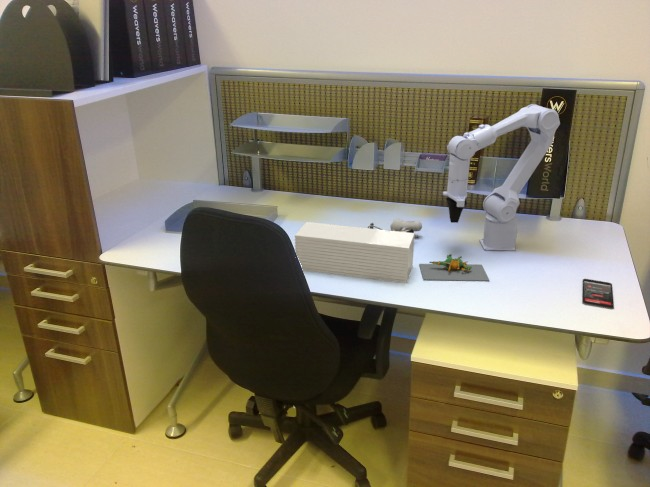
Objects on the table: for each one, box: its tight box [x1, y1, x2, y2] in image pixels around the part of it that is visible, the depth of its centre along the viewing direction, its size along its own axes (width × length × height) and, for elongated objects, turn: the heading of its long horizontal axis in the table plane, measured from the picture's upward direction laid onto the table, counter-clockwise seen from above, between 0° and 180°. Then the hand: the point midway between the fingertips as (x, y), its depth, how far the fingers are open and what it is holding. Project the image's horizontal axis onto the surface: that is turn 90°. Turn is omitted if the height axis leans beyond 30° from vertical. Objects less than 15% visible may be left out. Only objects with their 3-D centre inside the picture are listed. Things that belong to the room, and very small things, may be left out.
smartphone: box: [581, 278, 615, 310], centre depth 150 cm, size 7×1×15 cm
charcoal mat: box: [419, 263, 491, 282], centre depth 162 cm, size 18×10×1 cm, turn 88°
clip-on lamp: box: [367, 218, 423, 238], centre depth 185 cm, size 12×6×18 cm
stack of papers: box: [294, 221, 416, 284], centre depth 163 cm, size 32×11×11 cm, turn 74°
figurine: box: [428, 253, 472, 272], centre depth 163 cm, size 3×12×8 cm
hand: (454, 221), depth 172 cm, fingers closed
